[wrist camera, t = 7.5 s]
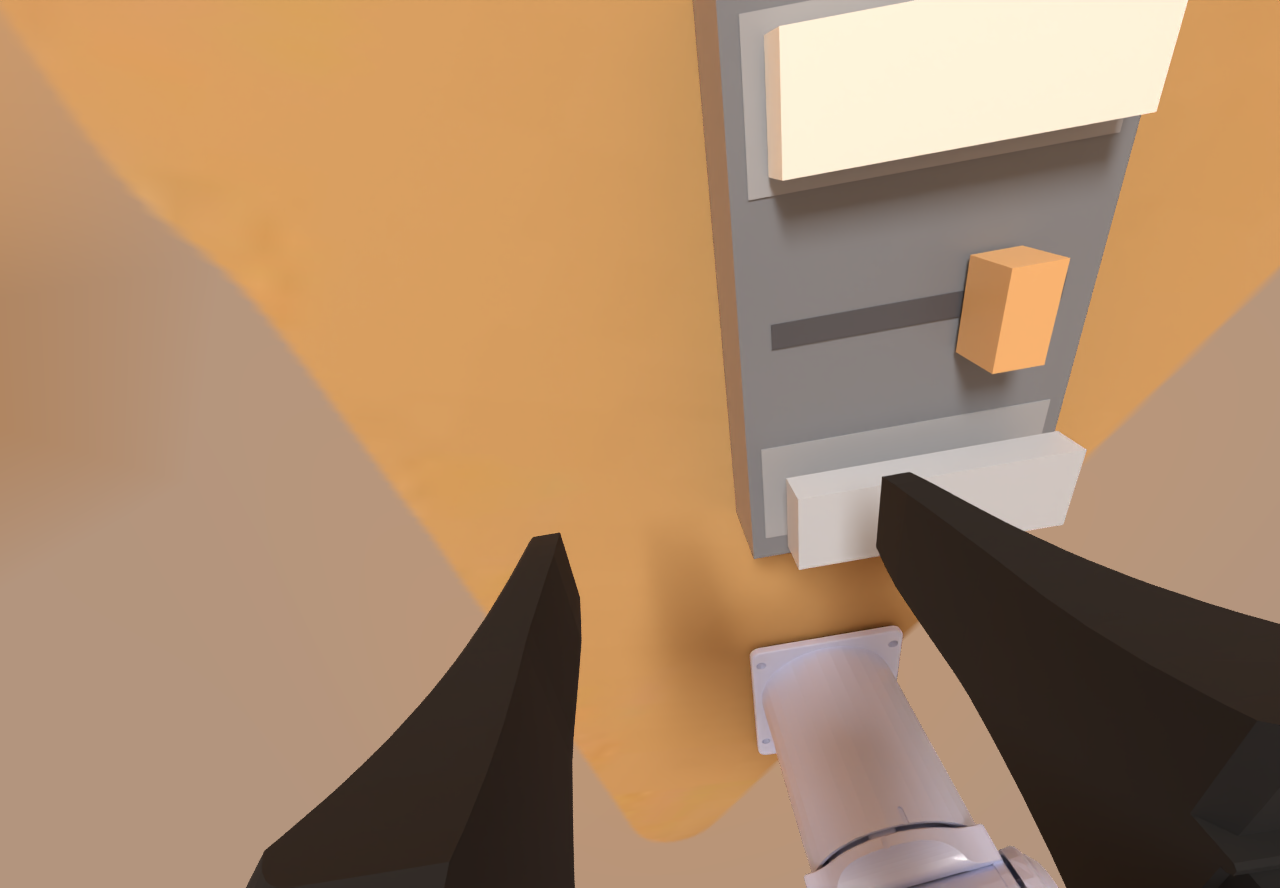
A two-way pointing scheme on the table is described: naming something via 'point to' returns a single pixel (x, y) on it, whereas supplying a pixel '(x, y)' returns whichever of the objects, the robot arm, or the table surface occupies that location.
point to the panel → (877, 277)
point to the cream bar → (957, 76)
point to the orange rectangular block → (1010, 307)
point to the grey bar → (981, 475)
